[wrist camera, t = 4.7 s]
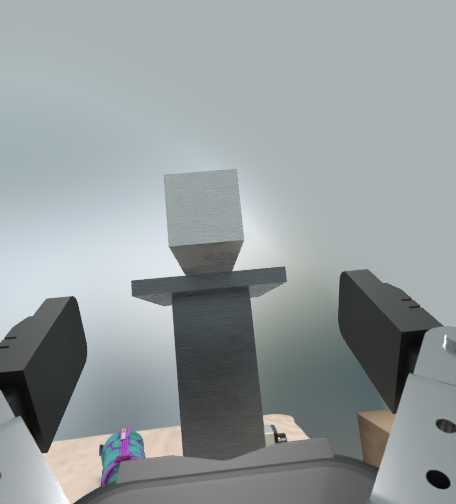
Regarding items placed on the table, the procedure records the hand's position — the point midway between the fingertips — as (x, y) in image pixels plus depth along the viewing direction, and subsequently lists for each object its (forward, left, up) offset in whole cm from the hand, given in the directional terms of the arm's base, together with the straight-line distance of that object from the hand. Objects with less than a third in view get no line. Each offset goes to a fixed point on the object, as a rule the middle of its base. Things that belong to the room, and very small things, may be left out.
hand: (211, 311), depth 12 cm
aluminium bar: (+8, +14, +3) cm, 16 cm away
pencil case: (+17, +66, -30) cm, 75 cm away
